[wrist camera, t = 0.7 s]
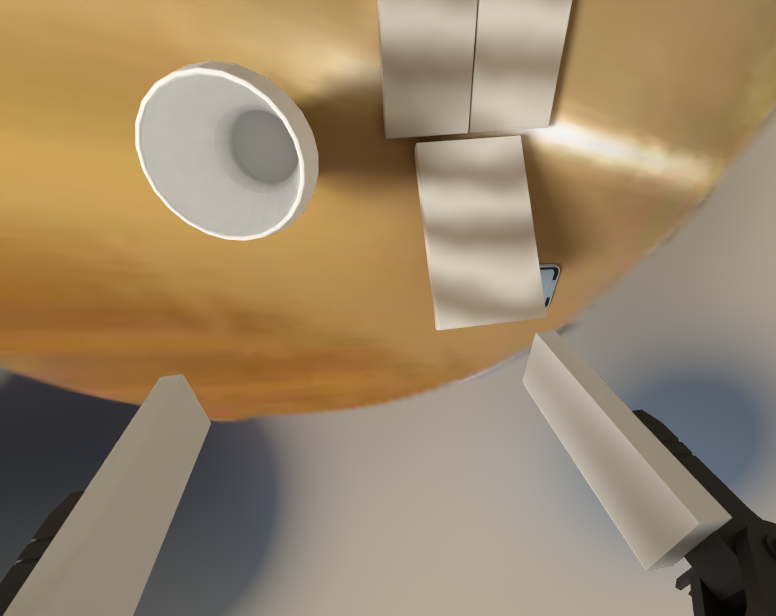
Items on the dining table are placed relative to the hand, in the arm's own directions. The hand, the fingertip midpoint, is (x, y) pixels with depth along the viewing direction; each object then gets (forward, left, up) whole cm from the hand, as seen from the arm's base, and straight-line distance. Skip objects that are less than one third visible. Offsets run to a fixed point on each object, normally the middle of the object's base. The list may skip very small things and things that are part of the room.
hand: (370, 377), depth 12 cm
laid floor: (-13, +13, -28) cm, 33 cm away
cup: (-7, -7, -28) cm, 30 cm away
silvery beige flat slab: (+3, +13, -22) cm, 25 cm away
